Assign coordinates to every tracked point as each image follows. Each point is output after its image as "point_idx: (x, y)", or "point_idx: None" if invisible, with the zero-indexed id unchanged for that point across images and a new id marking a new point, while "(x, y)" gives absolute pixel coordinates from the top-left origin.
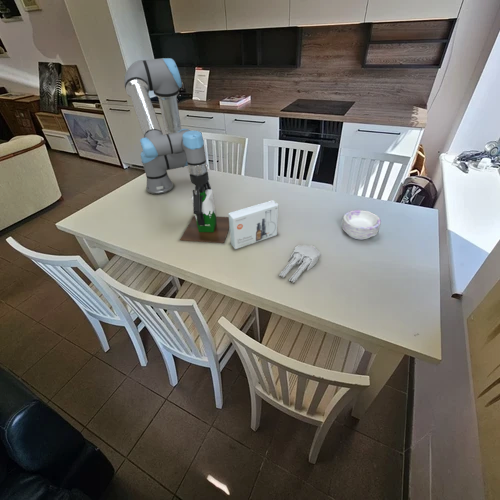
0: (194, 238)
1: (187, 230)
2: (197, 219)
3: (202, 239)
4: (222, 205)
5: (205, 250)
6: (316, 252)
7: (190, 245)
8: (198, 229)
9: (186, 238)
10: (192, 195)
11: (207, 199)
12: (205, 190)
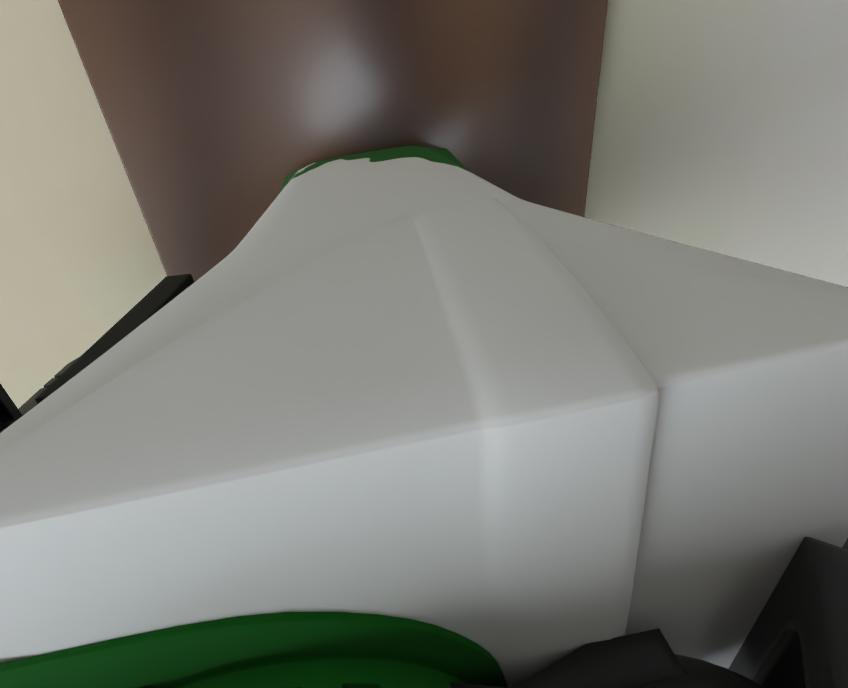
0: (160, 175)
1: (269, 4)
2: (122, 322)
3: (185, 265)
4: (779, 221)
5: (72, 339)
6: None
7: (51, 168)
8: (284, 180)
9: (112, 70)
10: (156, 502)
11: None
12: (708, 661)
